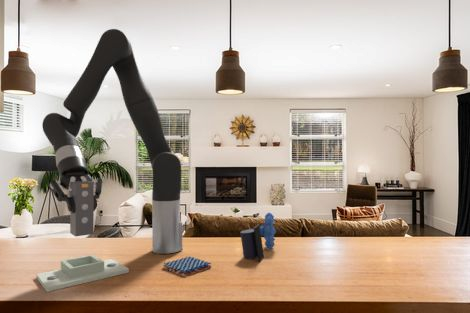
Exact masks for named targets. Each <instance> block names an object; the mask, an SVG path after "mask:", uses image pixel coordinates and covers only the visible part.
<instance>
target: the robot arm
mask: <svg viewBox="0 0 470 313" xmlns="http://www.w3.org/2000/svg"><path fill="white" fill-rule="evenodd" d="M137 64H138V63H137V61H136V58H135V54H134V51H133V47H132V43H131V42H130V39H129V38H128V36H127V35H126V34H125V33H124V32H123V31H121V30H119V29H117V28H110V29H107V30H106V31H104V32H103V33H102V35H101V36H100V38H99V40H98V42H97V45H96V47H95V49H94V51H93V54H92V56H91V57H90V60H89V61H88V63H87V66H86V67H85V69H84V71H83V72H82V74H81V76H79V79H78V80H77V81H76V83H75V84H74V86H73V88H72V89H71V90H70V91H69V94H68V95H66V97H65V99H64V101H63V104H62V105H63V107H64V108H65V109H66V110H68V111H69V113H70V115H69V117H66V116H64V115H62V114H60V113H57V112H51V113H48V114H46V115H45V116H44V118H43V120H42V131H43V134H44V135H45V136H46V138H47V140H48V141H49V143H50V144H51V146H52V147H53V151H54V155H55V164H56V168H57V171H58V175H59V179H58V180H56V179H51V180H50V183H49V186H48V187H49V190H50V191H51V192H52V193H53V195H54V197H55V198H56V200H57V201H58V202H59V203H60V202H61V203H62V202H65V203H66V206H67V210H68V211H69V212H70V211H71V213H75V210H76V207H75V203H74V199H73V198H72V188H71V184H70V182H77V181H90V182H94V206H93V208H94V212H95V211H96V209H97V207H98V201H97V200H99V199H100V196H101V194H102V185H103V178H100V177H97V179H95V178H93V177H91V175H90V174H89V170H88V167H87V166H88V165H87V163H86V160H85V156H84V154H83V152H82V149H81V147H80V144H79V141H78V139H77V136H78V135H79V133H80V131H81V128H82V127H81V126H82V125H83V124H82V123H83V121H84V119H85V114H86V113H87V111H88V109H89V108H90V107H91V105H92V103H93V102H94V101H95V99H96V97H97V95H98V94H99V92H100V90H101V87H102V84H103V82H104V80H105V78H106V76H107V74H108V72H109V71H110V70H111V68H113V70H114V72H115V74H116V76H117V78H118V81H119V84H120V90H121V95H122V98H123V101H124V105H125V107H126V111H127V113H128V115H129V117H130V119H131V122H132V123H133V126H134V127H135V129H136V131H137V133H138V135H139V136H140V138H141V140H142V142H143V143H144V146H145V149H146V153H147V155H148V158H149V161H150V165H151V169H152V191H151V192H152V194H151V196H152V201H151V203H152V208H151V210H152V213H151V214H152V217H151V219H152V220H151V222H152V226H151V227H152V232H151V233H152V235H151V236H152V237H151V238H152V239H151V240H152V244H151V247H152V252H153V253H155V254H160V255H161V254H162V255H167V254H173V253H177V252H180V251H183V221H181V192H182V164H181V160H180V158H179V157H178V156H177V155H176V154H175V153H173V152H172V150H171V148H170V147H171V146H170V145H169V144H168V142H167V140H166V137H165V132H164V128H163V124H162V120H161V117H160V112H159V111H158V108H157V104H156V103H155V100H154V98H153V95H152V93H151V92H150V89H149V87H148V85H147V84H146V82H145V80H144V78H143V76H142V75H141V73H140V70H139V68H138V65H137ZM61 187H63V188H64V189H65V190H66V193H65V192H64V191H63V190H62V188H61Z"/></svg>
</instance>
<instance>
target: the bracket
mask: <svg viewBox="0 0 470 313" xmlns="http://www.w3.org/2000/svg"><path fill="white" fill-rule="evenodd" d="M129 271H130V270H129V268H128V267H126V266H125V265H123V264H122V263H120V262H118V261H117V260H115V259H114V258H109V259H105V260H103V259H102V258H101V259H100V258H99V257H98V256H96V255H95V254H89V255H83V256H79V257H74V258H67V259H63V260H60V269H56V270H50V271H46V272H41V273H40V272H39V273H36V279H37V280H38V282H39V283H40V285H41V286H42V287H43V289H44V290H45V292H46V293H48V292H51V291H57V290H61V289H66V288H69V287H74V286H78V285H81V284H86V283H90V282H94V281H99V280H103V279H107V278H111V277H115V276H119V275H120V276H121V275H123V274H127V273H130V272H129Z"/></svg>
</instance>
